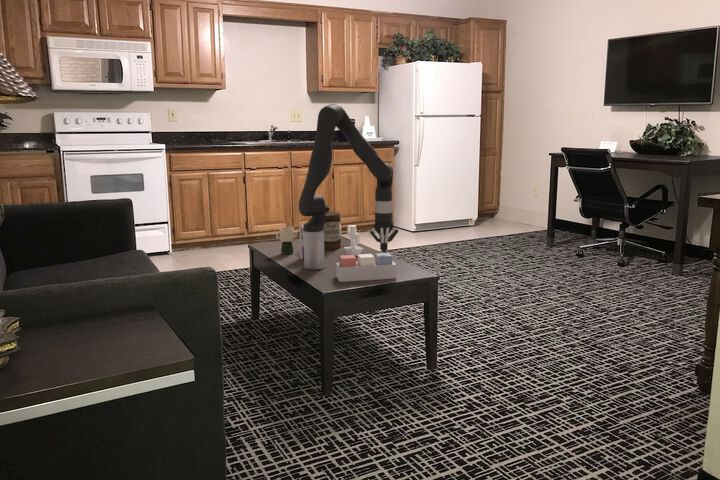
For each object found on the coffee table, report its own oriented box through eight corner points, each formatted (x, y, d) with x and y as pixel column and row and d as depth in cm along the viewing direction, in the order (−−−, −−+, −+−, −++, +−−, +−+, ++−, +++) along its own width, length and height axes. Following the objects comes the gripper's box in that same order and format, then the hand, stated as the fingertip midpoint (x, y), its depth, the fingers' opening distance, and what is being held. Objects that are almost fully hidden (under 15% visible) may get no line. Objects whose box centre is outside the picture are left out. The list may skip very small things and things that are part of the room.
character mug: (296, 251, 301) (295, 226, 298) (299, 254, 294) (298, 228, 291) (275, 253, 297) (274, 227, 294) (278, 256, 290) (277, 230, 288)
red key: (339, 266, 250) (339, 255, 249) (353, 266, 251) (353, 254, 250) (342, 270, 244) (341, 258, 243) (356, 269, 245) (356, 258, 244)
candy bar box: (321, 256, 289) (320, 223, 286) (324, 258, 285) (323, 225, 281) (299, 258, 285) (298, 225, 282) (302, 260, 281) (301, 226, 277)
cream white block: (357, 265, 252) (357, 254, 251) (371, 265, 253) (371, 253, 252) (360, 269, 246) (360, 257, 245) (374, 268, 247) (374, 256, 246)
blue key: (375, 264, 253) (375, 253, 252) (388, 264, 254) (388, 252, 253) (378, 268, 247) (378, 256, 246) (392, 267, 248) (392, 255, 247)
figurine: (352, 257, 285) (351, 227, 282) (342, 254, 293) (342, 224, 290) (364, 255, 289) (364, 226, 286) (355, 252, 297) (354, 223, 294)
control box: (336, 276, 252) (336, 262, 251) (391, 273, 257) (391, 259, 255) (339, 281, 244) (339, 267, 242) (396, 278, 248) (396, 264, 247)
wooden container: (320, 251, 300) (319, 208, 296) (309, 245, 313) (307, 205, 309) (346, 247, 307) (345, 206, 303) (334, 242, 320) (333, 202, 315)
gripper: (396, 209, 251) (396, 248, 254) (366, 210, 248) (366, 250, 252) (401, 211, 243) (401, 252, 247) (370, 213, 241) (370, 254, 244)
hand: (383, 251), depth 249 cm, fingers closed
